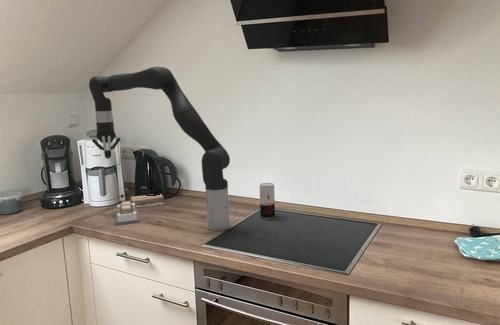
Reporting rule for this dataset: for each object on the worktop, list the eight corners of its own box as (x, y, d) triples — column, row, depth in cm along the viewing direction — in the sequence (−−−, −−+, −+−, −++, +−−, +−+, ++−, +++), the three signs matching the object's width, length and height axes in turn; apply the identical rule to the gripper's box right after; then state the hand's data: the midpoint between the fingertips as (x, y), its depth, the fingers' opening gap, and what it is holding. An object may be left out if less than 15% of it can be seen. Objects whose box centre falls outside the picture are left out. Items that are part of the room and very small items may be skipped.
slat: (131, 219, 178) (130, 208, 178) (123, 220, 177) (122, 209, 176) (130, 210, 191) (129, 200, 191) (122, 211, 190) (121, 201, 189)
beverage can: (275, 214, 183) (274, 182, 180) (274, 219, 176) (273, 186, 173) (261, 214, 183) (260, 182, 181) (259, 219, 177) (258, 186, 174)
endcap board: (139, 222, 177) (138, 213, 177) (115, 225, 174) (115, 216, 174) (137, 210, 195) (136, 202, 194) (115, 212, 192) (115, 204, 191)
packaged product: (162, 191, 212) (164, 196, 203) (163, 200, 213) (165, 205, 204) (127, 195, 207) (127, 200, 197) (128, 204, 208) (128, 209, 198)
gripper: (88, 122, 177) (92, 160, 180) (120, 120, 181) (123, 158, 184) (89, 121, 184) (93, 158, 187) (119, 119, 188) (123, 156, 191)
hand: (108, 158), depth 186 cm, fingers closed
